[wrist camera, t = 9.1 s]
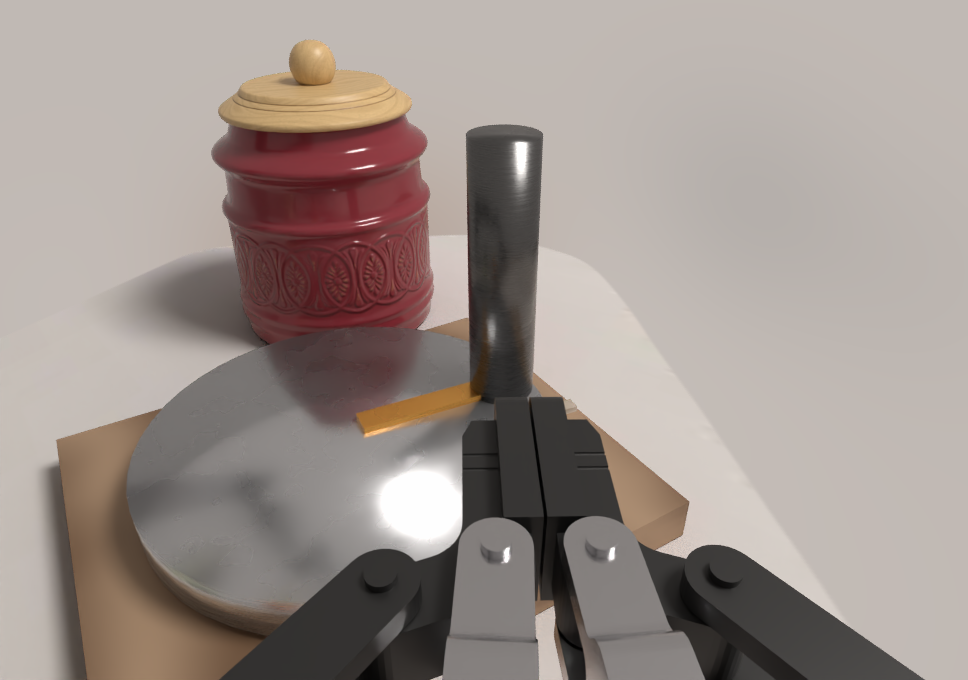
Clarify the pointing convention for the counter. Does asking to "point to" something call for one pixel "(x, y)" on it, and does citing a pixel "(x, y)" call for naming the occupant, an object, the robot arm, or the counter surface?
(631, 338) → the counter surface
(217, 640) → the base board
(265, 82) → the canister
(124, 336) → the counter surface
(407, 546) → the wheel
